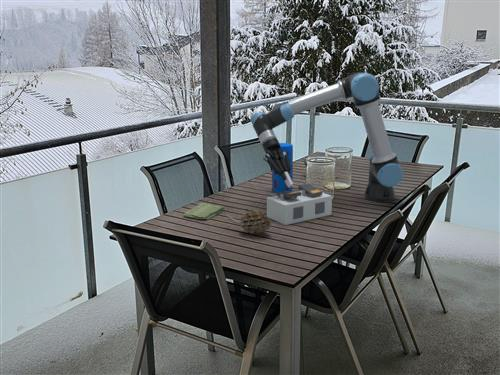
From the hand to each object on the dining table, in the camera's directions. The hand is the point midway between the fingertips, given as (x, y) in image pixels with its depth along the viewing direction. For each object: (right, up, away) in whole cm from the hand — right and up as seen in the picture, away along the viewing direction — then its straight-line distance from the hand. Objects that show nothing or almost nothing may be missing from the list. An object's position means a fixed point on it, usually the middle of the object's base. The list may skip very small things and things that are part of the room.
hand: (290, 185), depth 221 cm
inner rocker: (+10, -2, +9) cm, 13 cm away
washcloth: (-39, -14, +13) cm, 43 cm away
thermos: (0, -3, +50) cm, 50 cm away
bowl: (+23, +5, +79) cm, 82 cm away
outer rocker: (-1, -4, +3) cm, 5 cm away
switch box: (+5, -14, +9) cm, 17 cm away
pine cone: (-19, -19, -11) cm, 29 cm away
